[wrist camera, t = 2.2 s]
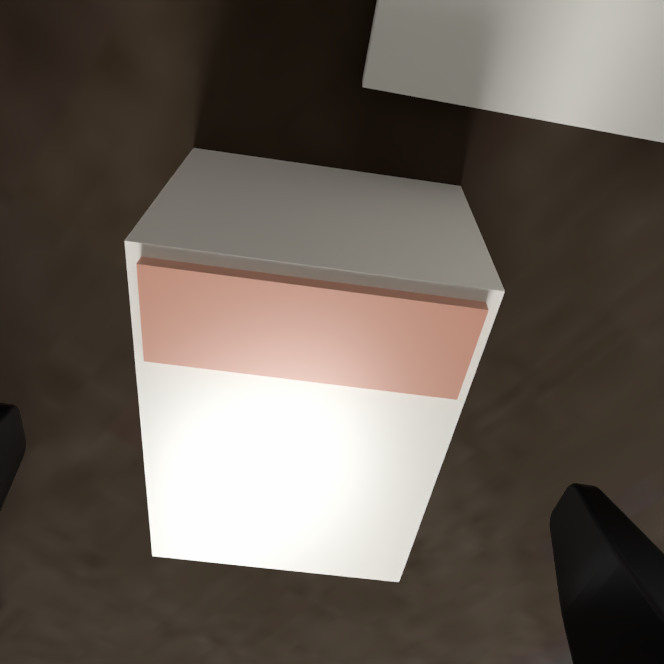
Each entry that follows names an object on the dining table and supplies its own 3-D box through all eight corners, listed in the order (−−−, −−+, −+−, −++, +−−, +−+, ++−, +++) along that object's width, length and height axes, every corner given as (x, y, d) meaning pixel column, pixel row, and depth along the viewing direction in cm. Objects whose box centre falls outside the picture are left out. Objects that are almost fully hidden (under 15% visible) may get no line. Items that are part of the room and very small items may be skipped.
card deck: (197, 415, 15) (148, 565, 11) (195, 144, 10) (118, 247, 7) (389, 438, 15) (400, 591, 11) (459, 182, 11) (508, 298, 7)
